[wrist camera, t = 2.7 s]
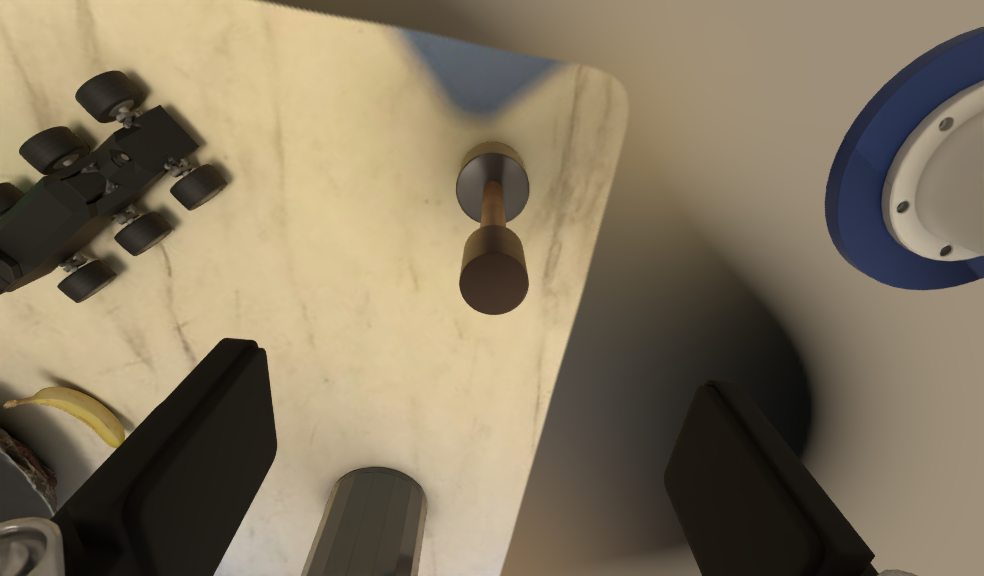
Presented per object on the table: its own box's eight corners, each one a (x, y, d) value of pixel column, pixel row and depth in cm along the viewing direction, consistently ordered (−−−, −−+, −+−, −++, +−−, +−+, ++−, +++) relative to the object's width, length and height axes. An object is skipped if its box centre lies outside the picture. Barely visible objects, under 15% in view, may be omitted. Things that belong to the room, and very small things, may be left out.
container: (445, 494, 45) (432, 617, 35) (395, 544, 48) (371, 669, 38) (361, 452, 42) (322, 571, 32) (315, 508, 46) (267, 631, 36)
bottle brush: (538, 168, 31) (584, 273, 16) (498, 219, 33) (506, 359, 17) (485, 127, 30) (479, 197, 15) (447, 182, 31) (405, 297, 16)
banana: (42, 379, 39) (-5, 411, 35) (52, 367, 38) (6, 399, 34) (131, 435, 41) (97, 470, 38) (142, 425, 41) (108, 460, 37)
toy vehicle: (-1, 202, 32) (-162, 249, 24) (135, 65, 28) (-2, 67, 20) (103, 290, 35) (-10, 356, 27) (239, 176, 31) (153, 215, 23)
